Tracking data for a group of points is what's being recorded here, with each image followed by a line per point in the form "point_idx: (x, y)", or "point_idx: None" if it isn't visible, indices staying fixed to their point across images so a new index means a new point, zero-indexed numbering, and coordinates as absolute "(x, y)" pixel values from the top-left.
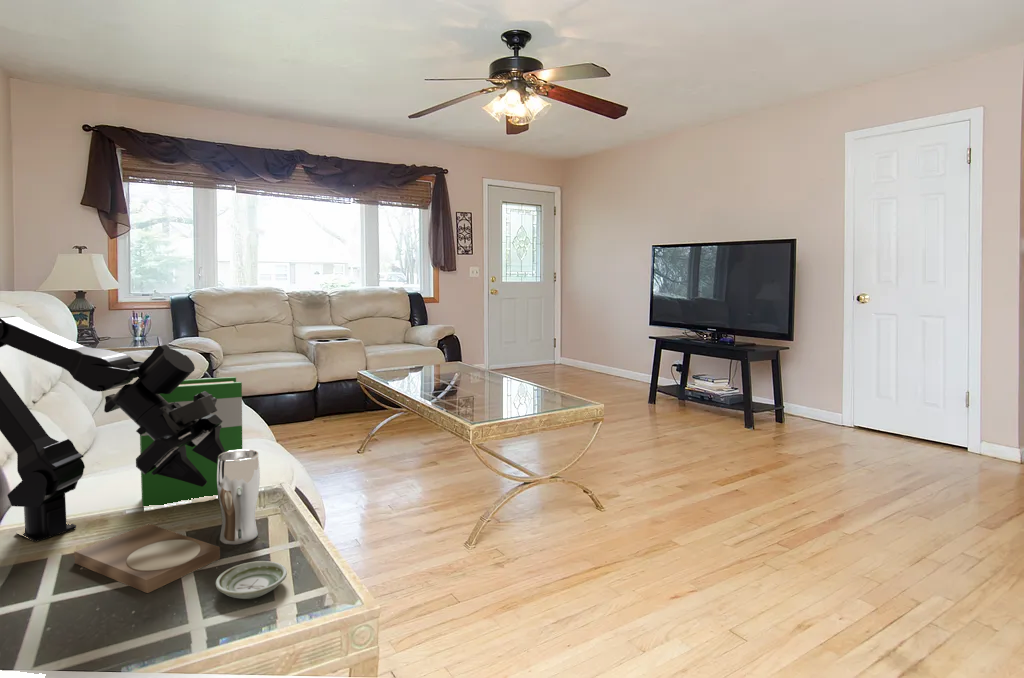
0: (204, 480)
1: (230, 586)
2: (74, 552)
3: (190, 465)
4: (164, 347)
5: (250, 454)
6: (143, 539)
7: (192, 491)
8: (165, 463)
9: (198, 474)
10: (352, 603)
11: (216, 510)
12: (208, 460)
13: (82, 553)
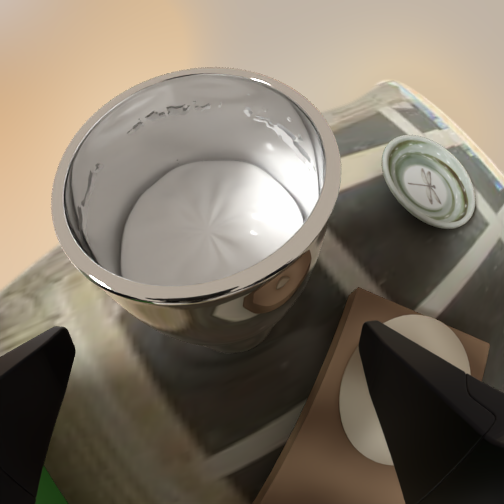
0: (385, 325)
1: (442, 213)
2: None
3: (473, 387)
4: None
5: (88, 157)
6: (338, 496)
7: (40, 496)
8: None
9: (420, 346)
10: (397, 87)
11: (79, 428)
12: None
13: None
